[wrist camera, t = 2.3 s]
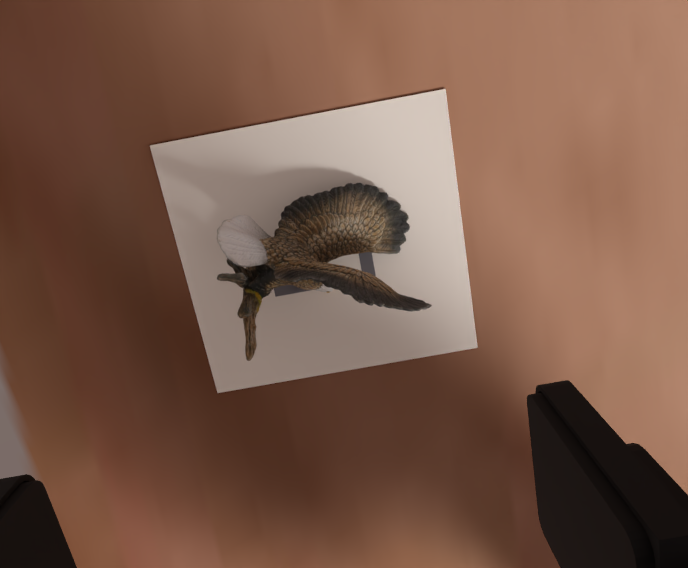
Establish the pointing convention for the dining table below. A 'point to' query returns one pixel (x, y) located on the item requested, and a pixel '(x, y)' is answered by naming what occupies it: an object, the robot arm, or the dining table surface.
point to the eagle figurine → (316, 250)
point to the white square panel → (334, 307)
